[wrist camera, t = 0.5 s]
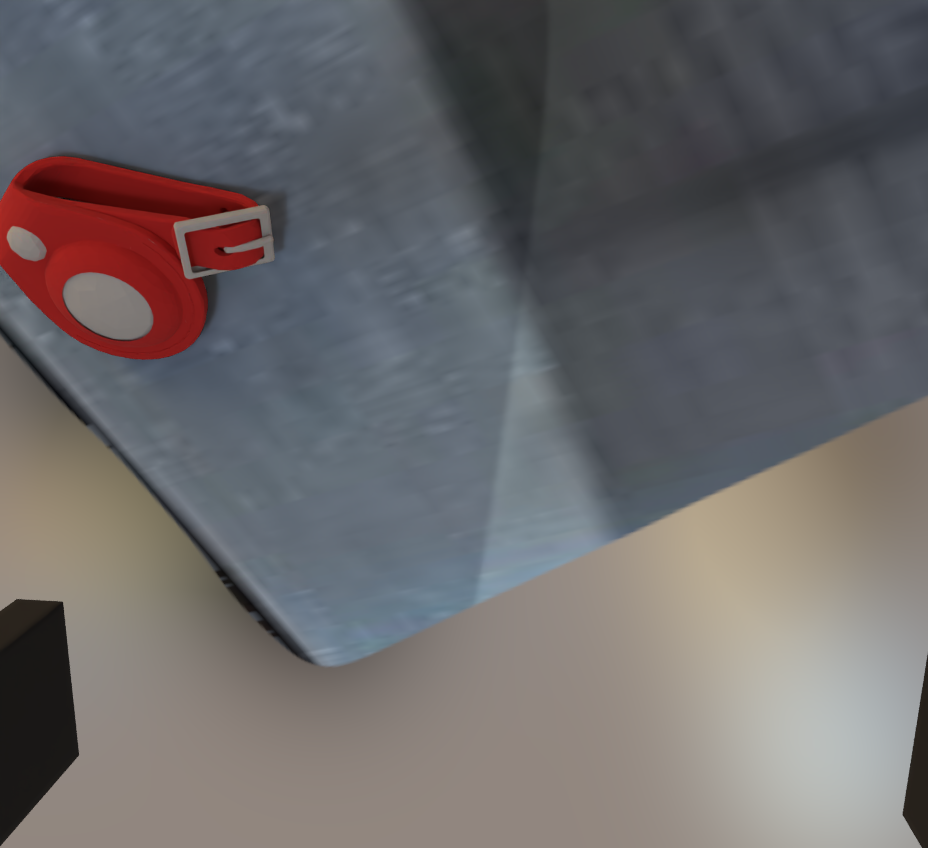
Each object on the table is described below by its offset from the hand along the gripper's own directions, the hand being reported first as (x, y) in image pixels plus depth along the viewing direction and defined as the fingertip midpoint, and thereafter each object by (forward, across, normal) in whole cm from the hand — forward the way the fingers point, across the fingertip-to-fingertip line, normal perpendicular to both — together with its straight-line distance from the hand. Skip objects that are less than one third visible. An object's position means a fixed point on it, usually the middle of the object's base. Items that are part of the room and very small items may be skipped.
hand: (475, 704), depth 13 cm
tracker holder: (+26, -16, +5) cm, 32 cm away
